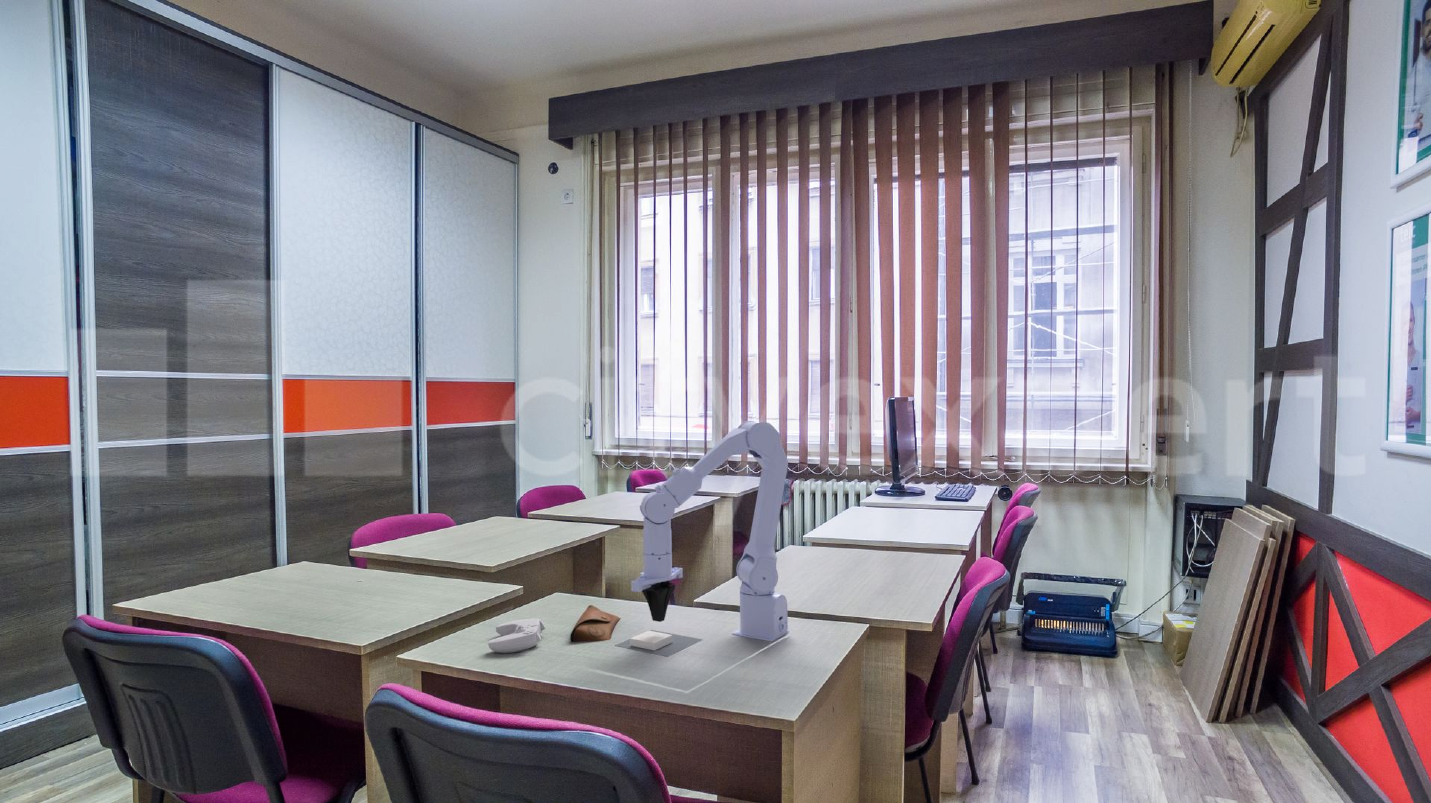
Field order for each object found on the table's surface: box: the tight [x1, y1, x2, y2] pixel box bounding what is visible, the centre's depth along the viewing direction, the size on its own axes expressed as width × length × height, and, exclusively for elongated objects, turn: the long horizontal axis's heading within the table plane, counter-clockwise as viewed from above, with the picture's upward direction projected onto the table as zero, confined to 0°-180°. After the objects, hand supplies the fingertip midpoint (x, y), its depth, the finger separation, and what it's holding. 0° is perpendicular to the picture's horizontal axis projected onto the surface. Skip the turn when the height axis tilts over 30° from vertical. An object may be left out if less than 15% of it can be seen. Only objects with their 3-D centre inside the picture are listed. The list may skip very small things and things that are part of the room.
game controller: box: [487, 618, 547, 654], centre depth 155 cm, size 14×4×10 cm
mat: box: [614, 629, 704, 658], centre depth 153 cm, size 13×12×1 cm
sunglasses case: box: [569, 604, 622, 643], centre depth 163 cm, size 18×7×7 cm
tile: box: [629, 630, 673, 651], centre depth 152 cm, size 6×2×6 cm
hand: (658, 620), depth 154 cm, fingers closed
